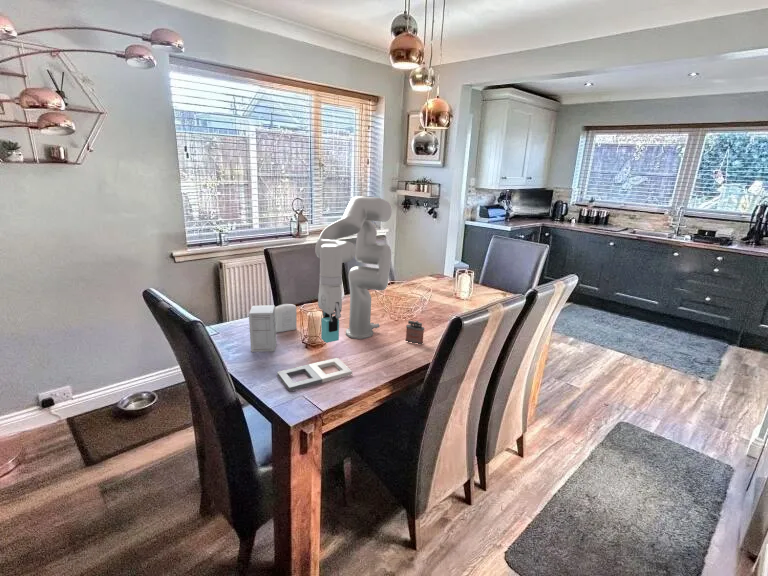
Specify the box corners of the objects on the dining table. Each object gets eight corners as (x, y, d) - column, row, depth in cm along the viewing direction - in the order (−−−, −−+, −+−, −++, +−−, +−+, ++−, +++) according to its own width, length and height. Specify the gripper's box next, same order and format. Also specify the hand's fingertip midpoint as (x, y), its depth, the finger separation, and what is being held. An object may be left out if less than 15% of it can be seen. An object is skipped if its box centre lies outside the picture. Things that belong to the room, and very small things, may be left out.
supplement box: (276, 342, 169) (275, 304, 164) (275, 351, 160) (273, 312, 155) (253, 342, 167) (251, 304, 162) (250, 352, 158) (248, 312, 153)
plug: (333, 336, 146) (334, 315, 144) (338, 340, 143) (339, 319, 141) (321, 338, 143) (321, 318, 141) (326, 342, 140) (326, 321, 138)
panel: (337, 361, 155) (337, 357, 155) (352, 374, 146) (352, 371, 145) (277, 375, 142) (277, 371, 142) (289, 391, 133) (289, 387, 132)
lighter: (423, 342, 176) (425, 321, 173) (422, 345, 173) (423, 324, 170) (406, 339, 178) (407, 318, 175) (404, 342, 175) (405, 321, 172)
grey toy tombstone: (294, 326, 186) (294, 301, 182) (298, 329, 182) (297, 304, 179) (273, 330, 180) (272, 304, 177) (276, 333, 177) (275, 307, 173)
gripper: (310, 275, 141) (310, 322, 147) (331, 287, 128) (331, 339, 133) (329, 272, 145) (329, 319, 151) (352, 284, 132) (350, 335, 137)
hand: (330, 328), depth 142 cm, fingers closed on plug, 3 cm apart
